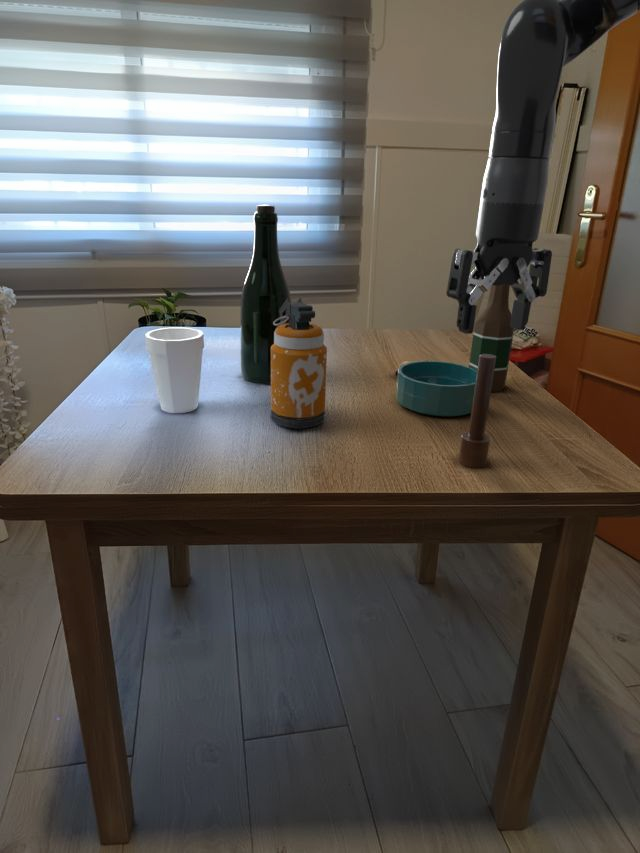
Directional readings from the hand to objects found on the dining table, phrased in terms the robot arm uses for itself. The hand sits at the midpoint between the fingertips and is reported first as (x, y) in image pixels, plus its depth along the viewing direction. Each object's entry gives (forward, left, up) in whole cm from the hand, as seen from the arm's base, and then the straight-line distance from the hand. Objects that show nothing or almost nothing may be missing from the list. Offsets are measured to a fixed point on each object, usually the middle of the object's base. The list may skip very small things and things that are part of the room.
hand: (491, 330), depth 76 cm
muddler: (0, 0, -20) cm, 20 cm away
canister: (+30, +4, -20) cm, 36 cm away
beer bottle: (+12, -35, -20) cm, 42 cm away
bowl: (+15, -19, -20) cm, 31 cm away
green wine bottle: (+49, -10, -20) cm, 54 cm away
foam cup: (+49, +13, -20) cm, 54 cm away
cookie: (+25, -31, -20) cm, 44 cm away
